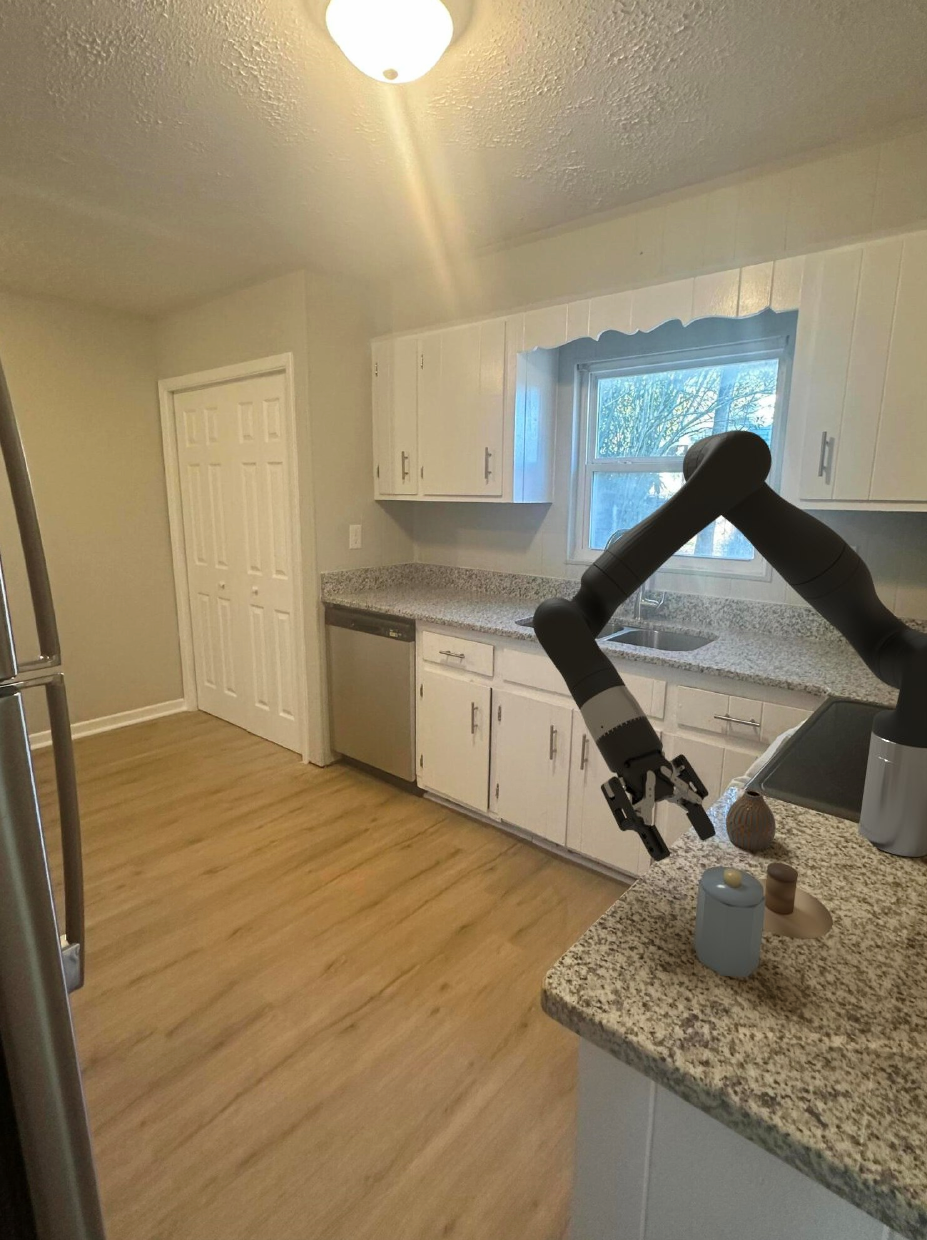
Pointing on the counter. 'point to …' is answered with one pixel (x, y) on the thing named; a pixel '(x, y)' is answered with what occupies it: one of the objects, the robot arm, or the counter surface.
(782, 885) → the spice jar
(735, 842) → the vase
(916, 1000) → the counter surface
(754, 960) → the octagonal knobbed canister
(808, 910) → the trivet
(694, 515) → the robot arm
